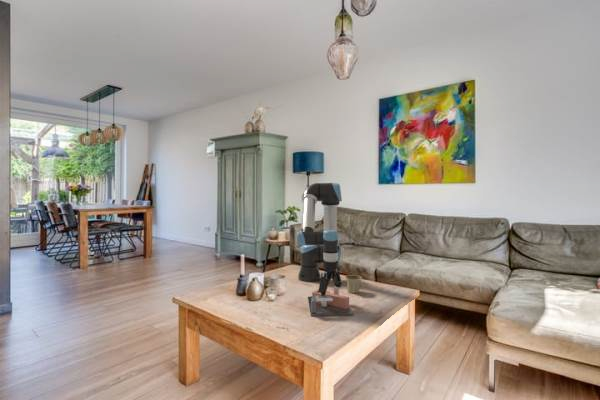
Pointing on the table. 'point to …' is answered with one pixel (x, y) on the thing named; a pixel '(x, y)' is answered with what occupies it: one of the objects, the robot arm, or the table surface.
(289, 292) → the table surface
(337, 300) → the link
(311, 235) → the robot arm
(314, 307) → the pintle base
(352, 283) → the flower pot
